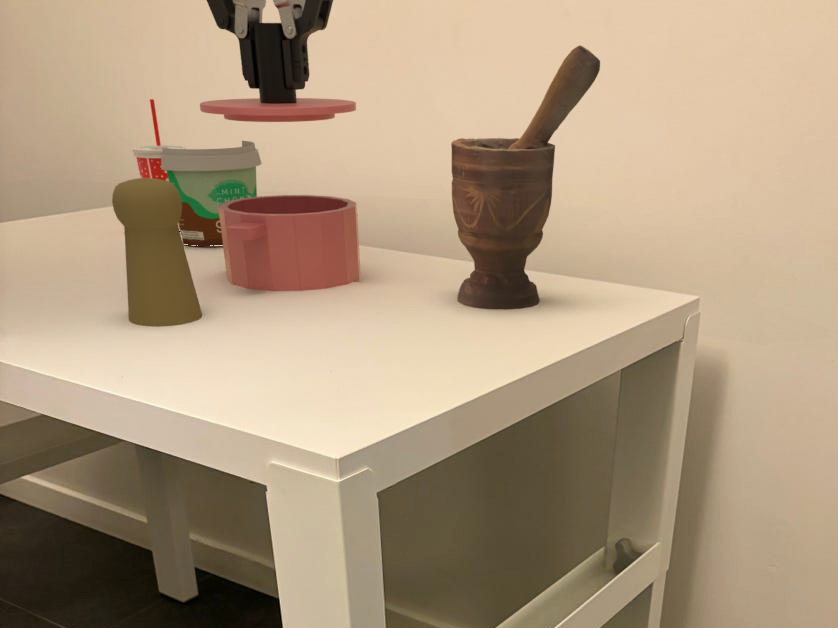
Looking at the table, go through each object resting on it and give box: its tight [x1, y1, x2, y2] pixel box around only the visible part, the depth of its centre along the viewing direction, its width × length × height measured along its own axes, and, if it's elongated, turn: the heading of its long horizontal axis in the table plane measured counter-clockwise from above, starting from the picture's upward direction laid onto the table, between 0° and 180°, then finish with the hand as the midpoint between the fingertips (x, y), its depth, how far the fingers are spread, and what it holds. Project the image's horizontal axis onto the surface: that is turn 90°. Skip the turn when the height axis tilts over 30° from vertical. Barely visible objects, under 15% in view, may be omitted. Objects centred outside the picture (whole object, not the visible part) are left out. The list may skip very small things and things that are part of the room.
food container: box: [161, 140, 263, 246], centre depth 111 cm, size 12×6×10 cm, turn 143°
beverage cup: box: [132, 98, 187, 230], centre depth 117 cm, size 6×6×14 cm
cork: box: [111, 177, 203, 328], centre depth 79 cm, size 6×6×11 cm
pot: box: [218, 194, 361, 292], centre depth 94 cm, size 13×18×7 cm
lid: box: [199, 22, 357, 123], centre depth 86 cm, size 14×14×7 cm
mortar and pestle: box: [451, 44, 601, 311], centre depth 83 cm, size 12×9×20 cm
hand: (277, 87), depth 87 cm, fingers closed on lid, 3 cm apart
